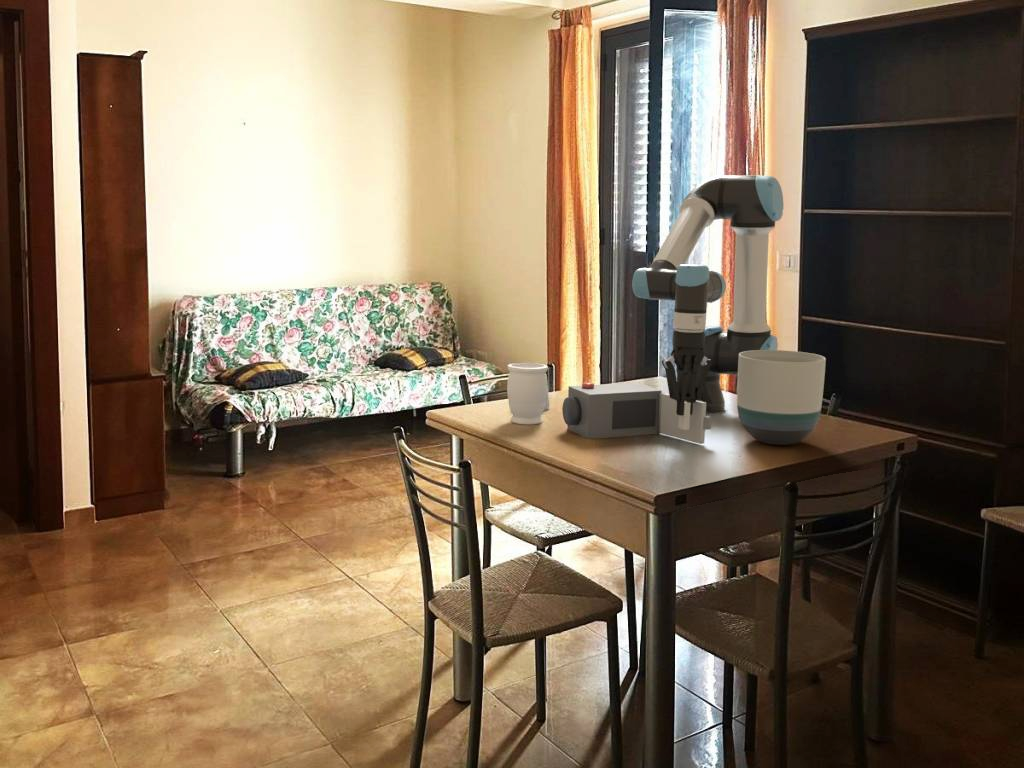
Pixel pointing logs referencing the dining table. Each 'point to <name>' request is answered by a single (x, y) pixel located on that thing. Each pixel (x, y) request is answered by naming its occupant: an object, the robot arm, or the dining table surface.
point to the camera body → (612, 410)
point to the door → (671, 419)
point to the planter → (779, 394)
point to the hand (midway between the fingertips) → (683, 428)
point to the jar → (527, 392)
